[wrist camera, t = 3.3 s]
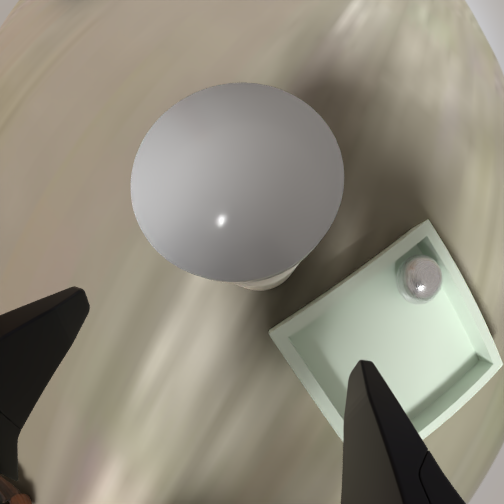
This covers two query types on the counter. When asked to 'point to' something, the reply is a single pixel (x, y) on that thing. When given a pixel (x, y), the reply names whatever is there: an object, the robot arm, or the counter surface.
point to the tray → (393, 337)
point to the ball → (419, 279)
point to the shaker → (238, 184)
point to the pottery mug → (12, 493)
